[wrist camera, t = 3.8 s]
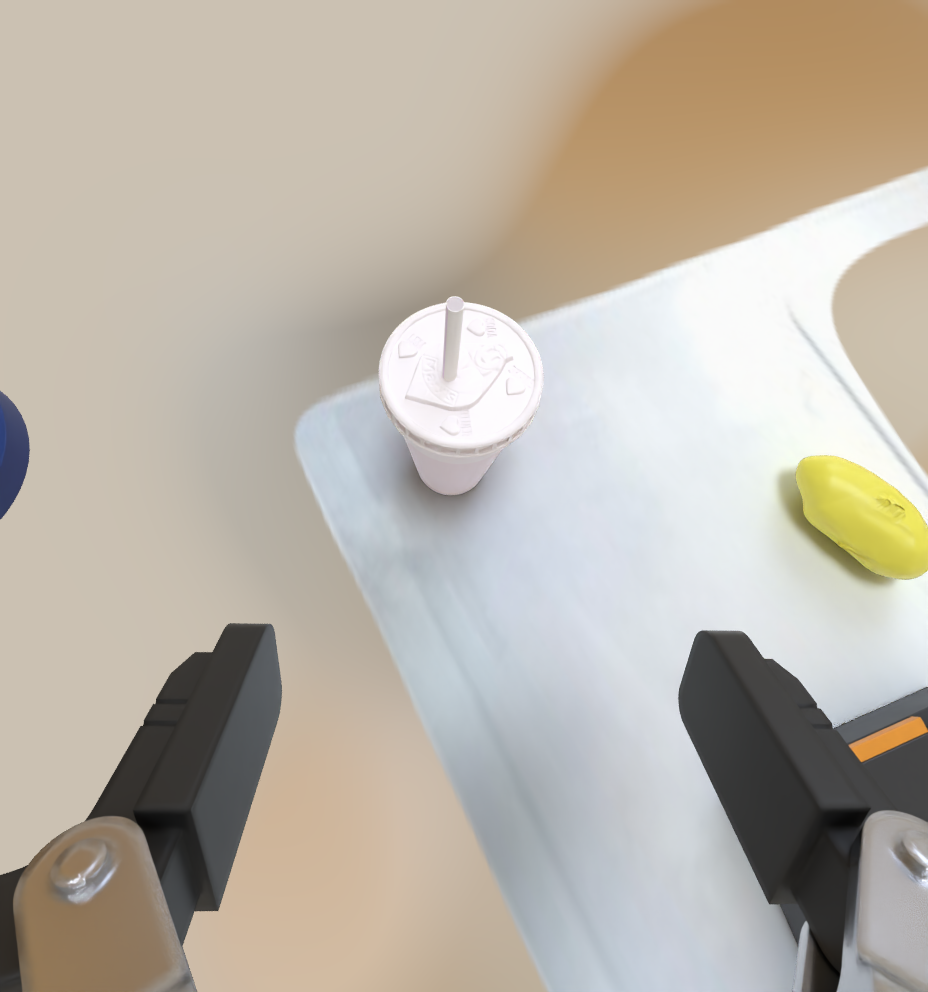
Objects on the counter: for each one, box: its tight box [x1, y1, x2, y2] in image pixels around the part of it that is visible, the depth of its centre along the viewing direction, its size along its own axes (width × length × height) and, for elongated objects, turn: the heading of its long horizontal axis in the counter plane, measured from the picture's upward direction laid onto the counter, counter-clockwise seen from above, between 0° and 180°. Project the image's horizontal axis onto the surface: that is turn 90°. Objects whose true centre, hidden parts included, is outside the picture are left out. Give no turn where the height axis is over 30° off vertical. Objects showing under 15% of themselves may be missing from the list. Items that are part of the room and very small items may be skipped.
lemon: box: [796, 455, 928, 580], centre depth 29 cm, size 4×8×4 cm, turn 38°
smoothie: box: [379, 297, 544, 495], centre depth 24 cm, size 6×6×14 cm
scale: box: [780, 687, 928, 945], centre depth 24 cm, size 12×12×3 cm
